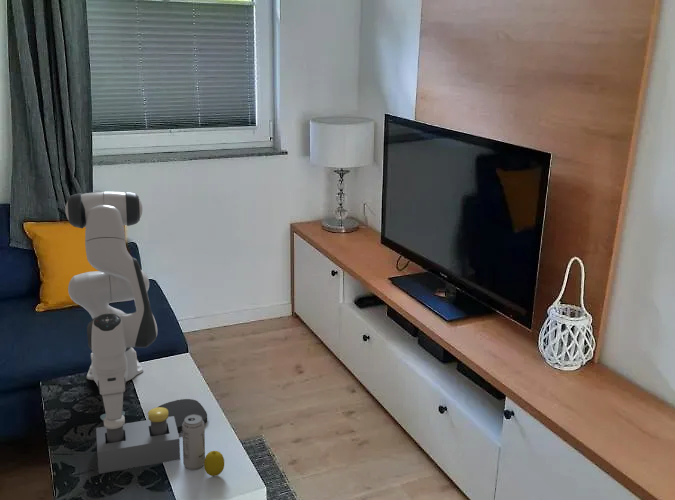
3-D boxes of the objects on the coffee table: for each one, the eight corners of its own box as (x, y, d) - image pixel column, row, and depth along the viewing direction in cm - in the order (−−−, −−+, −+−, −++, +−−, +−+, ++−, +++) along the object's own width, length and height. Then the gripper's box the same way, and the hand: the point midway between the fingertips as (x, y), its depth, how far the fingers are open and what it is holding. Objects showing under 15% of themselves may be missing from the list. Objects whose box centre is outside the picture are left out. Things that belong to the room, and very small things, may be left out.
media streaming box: (211, 425, 207) (211, 416, 206) (165, 437, 200) (165, 429, 199) (194, 402, 219) (194, 394, 218) (150, 414, 211) (150, 405, 211)
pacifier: (98, 417, 208) (102, 427, 203) (97, 400, 206) (100, 409, 201) (122, 412, 212) (126, 421, 207) (121, 395, 210) (125, 403, 205)
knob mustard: (148, 442, 194) (147, 408, 191) (168, 439, 196) (167, 406, 193) (150, 453, 189) (149, 419, 186) (170, 450, 191) (169, 416, 188)
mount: (97, 448, 193) (96, 427, 190) (174, 436, 200) (173, 416, 198) (98, 473, 182) (97, 452, 180) (180, 459, 190) (179, 438, 187)
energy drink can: (205, 470, 186) (204, 424, 181) (183, 472, 184) (181, 425, 180) (205, 457, 191) (204, 412, 186) (183, 458, 190) (182, 413, 185)
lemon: (205, 469, 186) (204, 445, 183) (225, 469, 186) (225, 445, 184) (203, 482, 181) (202, 457, 178) (223, 482, 181) (223, 457, 179)
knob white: (105, 449, 190) (103, 415, 187) (126, 446, 192) (124, 412, 189) (106, 461, 185) (104, 426, 182) (127, 457, 187) (125, 423, 184)
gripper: (97, 356, 189) (100, 398, 193) (99, 393, 171) (103, 438, 175) (120, 353, 191) (123, 395, 195) (125, 389, 173) (128, 434, 177)
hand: (113, 416), depth 185 cm, fingers closed
